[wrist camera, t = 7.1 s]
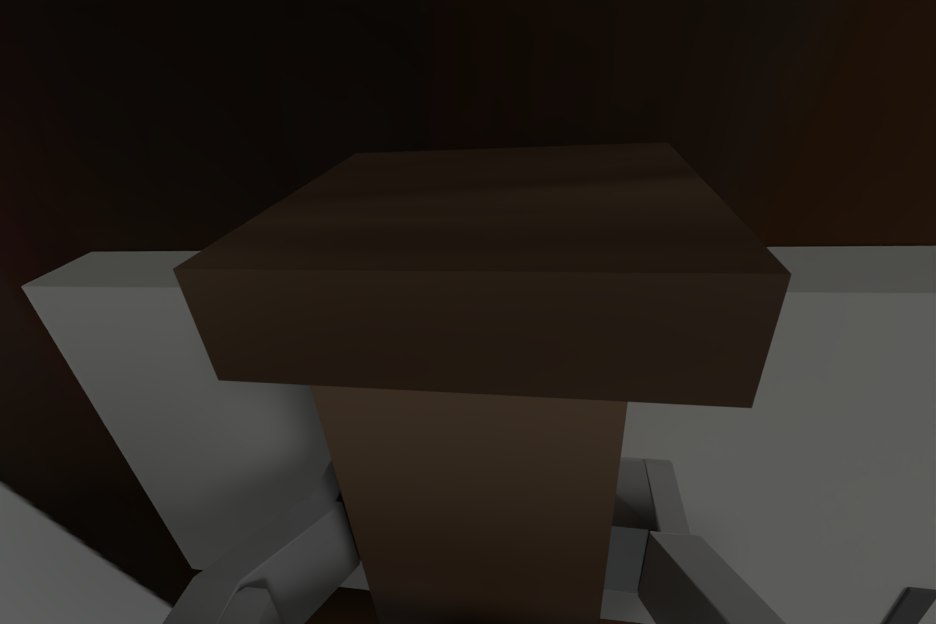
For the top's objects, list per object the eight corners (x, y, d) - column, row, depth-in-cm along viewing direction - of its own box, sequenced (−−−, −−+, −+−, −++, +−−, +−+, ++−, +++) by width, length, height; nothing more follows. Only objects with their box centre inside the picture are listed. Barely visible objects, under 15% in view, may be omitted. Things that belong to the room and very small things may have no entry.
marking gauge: (355, 153, 10) (77, 328, 4) (667, 142, 9) (867, 355, 3) (409, 452, 14) (308, 743, 8) (622, 469, 13) (674, 812, 7)
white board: (91, 251, 13) (17, 288, 11) (1361, 243, 8) (1578, 301, 7) (225, 518, 18) (190, 571, 17) (1035, 599, 14) (1105, 683, 12)
